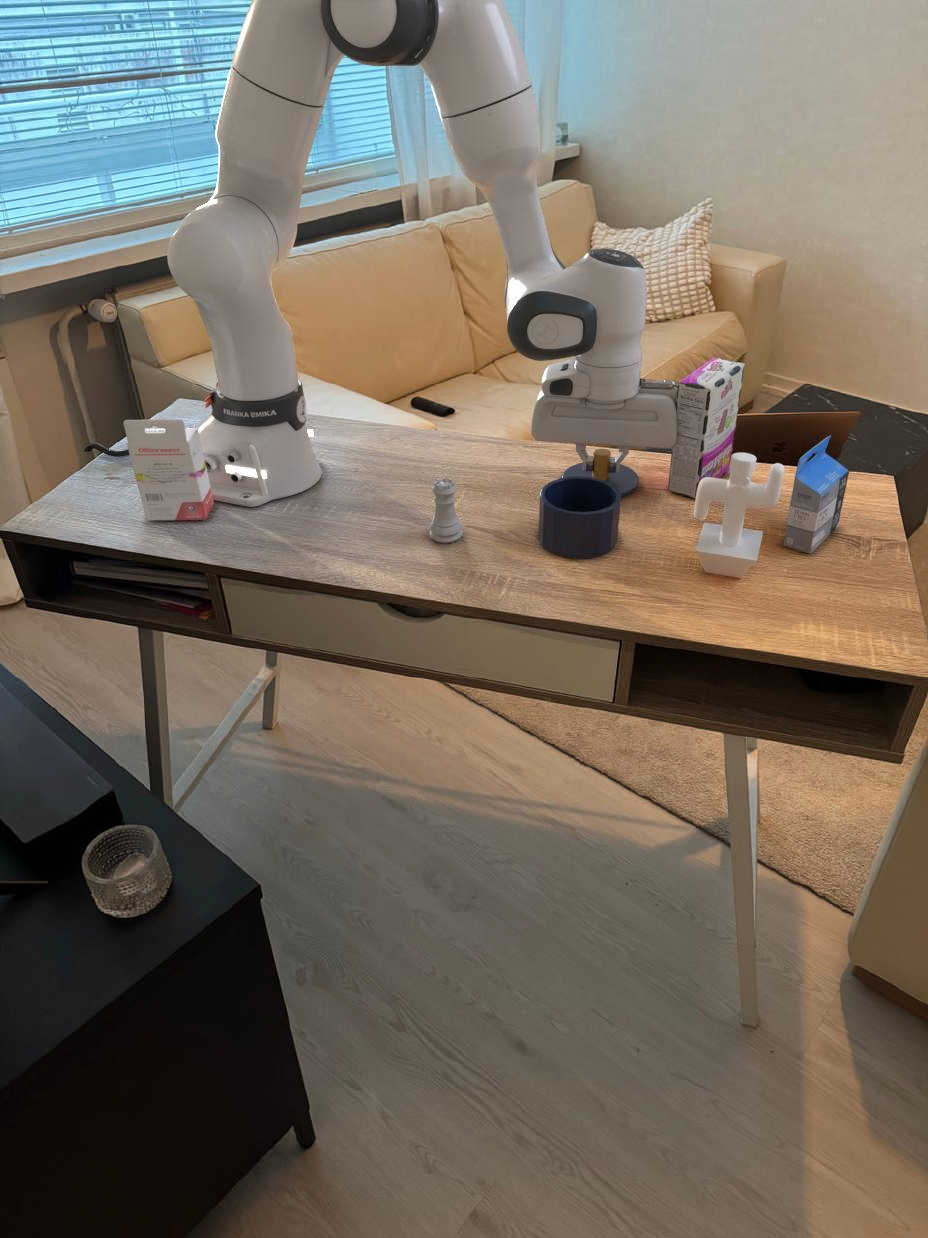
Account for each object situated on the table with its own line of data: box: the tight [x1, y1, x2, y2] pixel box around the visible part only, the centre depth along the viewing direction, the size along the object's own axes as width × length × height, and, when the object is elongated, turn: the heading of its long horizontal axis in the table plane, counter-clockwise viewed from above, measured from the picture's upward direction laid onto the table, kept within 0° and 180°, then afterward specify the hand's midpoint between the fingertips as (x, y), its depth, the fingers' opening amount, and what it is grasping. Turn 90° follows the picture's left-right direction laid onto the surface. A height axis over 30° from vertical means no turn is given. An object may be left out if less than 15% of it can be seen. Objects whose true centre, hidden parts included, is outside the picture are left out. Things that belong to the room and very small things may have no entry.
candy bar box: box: [667, 357, 746, 500], centre depth 128 cm, size 11×5×16 cm, turn 143°
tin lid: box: [561, 448, 640, 497], centre depth 132 cm, size 11×11×5 cm
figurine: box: [693, 452, 786, 579], centre depth 110 cm, size 7×9×15 cm
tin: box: [538, 476, 622, 560], centre depth 119 cm, size 10×10×6 cm
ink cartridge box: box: [123, 418, 215, 521], centre depth 124 cm, size 9×5×15 cm, turn 88°
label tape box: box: [783, 435, 850, 555], centre depth 116 cm, size 9×4×12 cm, turn 139°
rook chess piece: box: [429, 477, 464, 544], centre depth 120 cm, size 4×4×8 cm
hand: (600, 470), depth 132 cm, fingers closed on tin lid, 2 cm apart
